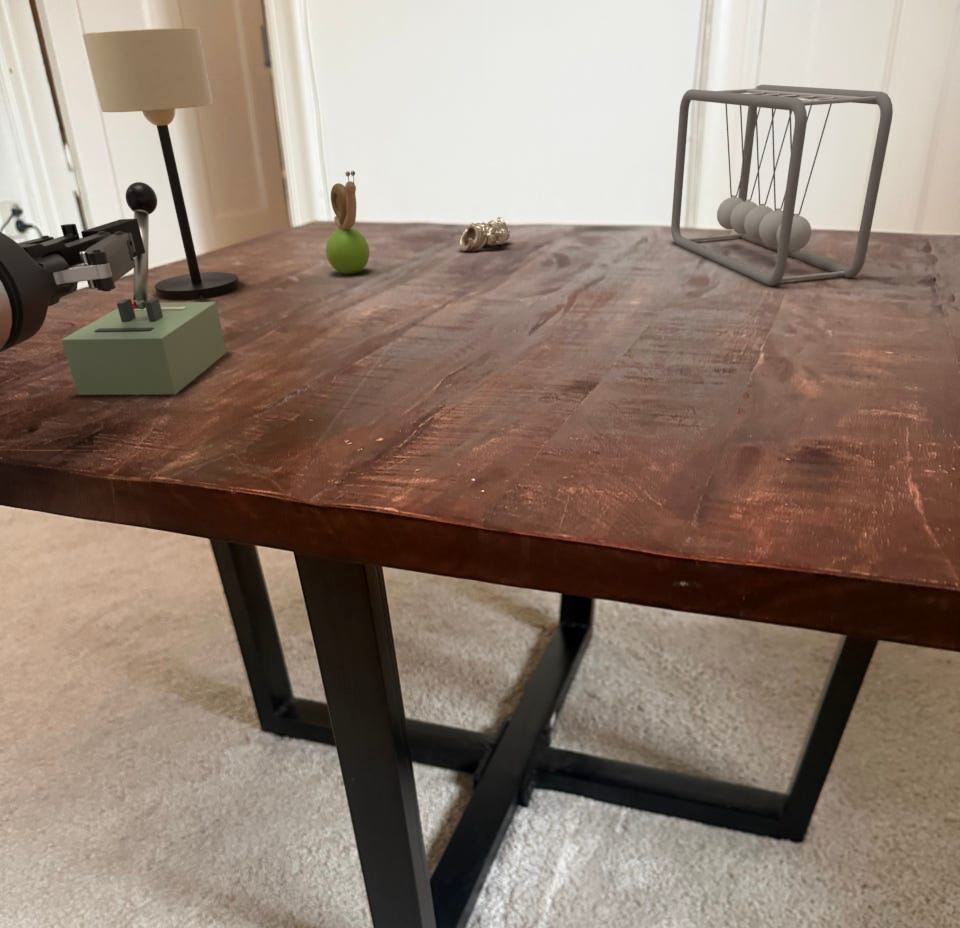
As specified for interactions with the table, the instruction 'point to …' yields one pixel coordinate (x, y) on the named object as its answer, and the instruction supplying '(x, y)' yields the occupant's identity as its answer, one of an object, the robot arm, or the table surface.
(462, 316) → the table surface
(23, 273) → the robot arm
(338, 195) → the snail figurine
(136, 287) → the toggle lever
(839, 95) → the newton's cradle
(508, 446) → the table surface
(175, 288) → the desk lamp
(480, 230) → the ornament
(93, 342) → the switch box
